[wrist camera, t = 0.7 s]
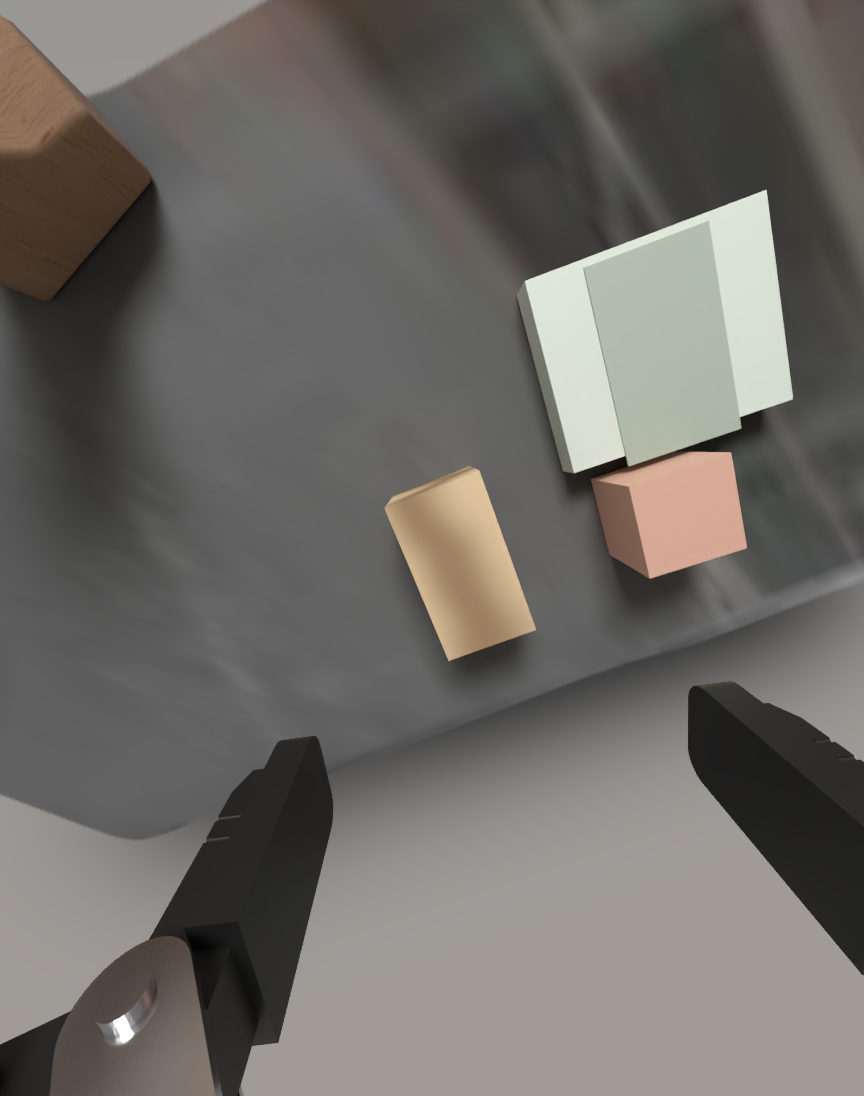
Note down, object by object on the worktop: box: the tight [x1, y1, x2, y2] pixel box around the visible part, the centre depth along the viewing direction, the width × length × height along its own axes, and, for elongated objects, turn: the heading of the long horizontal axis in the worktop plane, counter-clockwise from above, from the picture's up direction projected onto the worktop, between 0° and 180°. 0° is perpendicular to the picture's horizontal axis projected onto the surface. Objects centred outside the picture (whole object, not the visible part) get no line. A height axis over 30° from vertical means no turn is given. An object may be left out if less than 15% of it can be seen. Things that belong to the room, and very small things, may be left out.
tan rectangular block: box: [385, 466, 536, 661], centre depth 24 cm, size 5×9×5 cm, turn 21°
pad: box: [517, 190, 793, 473], centre depth 22 cm, size 12×11×2 cm
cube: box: [591, 451, 747, 579], centre depth 23 cm, size 5×5×5 cm
